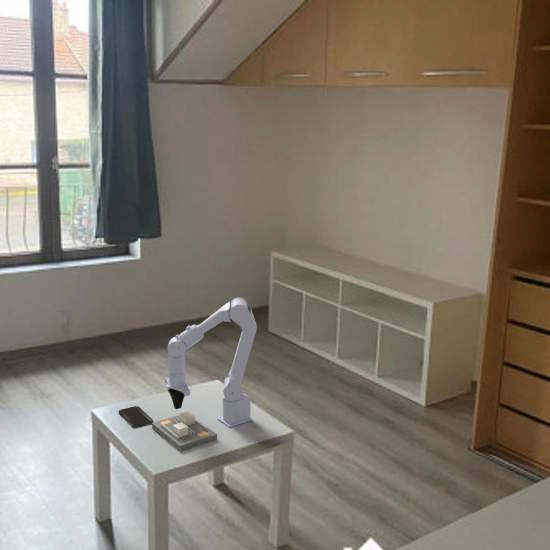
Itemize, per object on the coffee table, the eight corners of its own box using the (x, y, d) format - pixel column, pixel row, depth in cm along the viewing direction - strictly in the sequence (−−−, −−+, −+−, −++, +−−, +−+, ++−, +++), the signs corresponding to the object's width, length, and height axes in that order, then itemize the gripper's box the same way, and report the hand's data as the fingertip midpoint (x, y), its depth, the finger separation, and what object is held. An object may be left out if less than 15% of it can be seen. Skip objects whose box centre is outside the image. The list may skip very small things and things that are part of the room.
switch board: (187, 417, 258) (187, 410, 257) (217, 439, 242) (217, 431, 241) (152, 428, 250) (151, 420, 249) (180, 451, 234) (180, 443, 233)
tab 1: (189, 419, 252) (188, 411, 251) (194, 423, 249) (194, 415, 248) (180, 421, 250) (179, 413, 249) (185, 426, 247) (185, 418, 246)
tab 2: (182, 430, 244) (182, 422, 243) (188, 434, 241) (187, 426, 240) (173, 433, 242) (172, 424, 241) (178, 437, 239) (178, 429, 238)
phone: (137, 405, 266) (154, 421, 253) (137, 408, 266) (154, 424, 254) (117, 410, 262) (132, 426, 249) (117, 413, 262) (133, 429, 250)
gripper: (156, 367, 254) (158, 403, 257) (176, 381, 242) (177, 418, 246) (174, 363, 258) (175, 398, 261) (195, 376, 246) (195, 413, 250)
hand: (177, 408), depth 254 cm, fingers closed
